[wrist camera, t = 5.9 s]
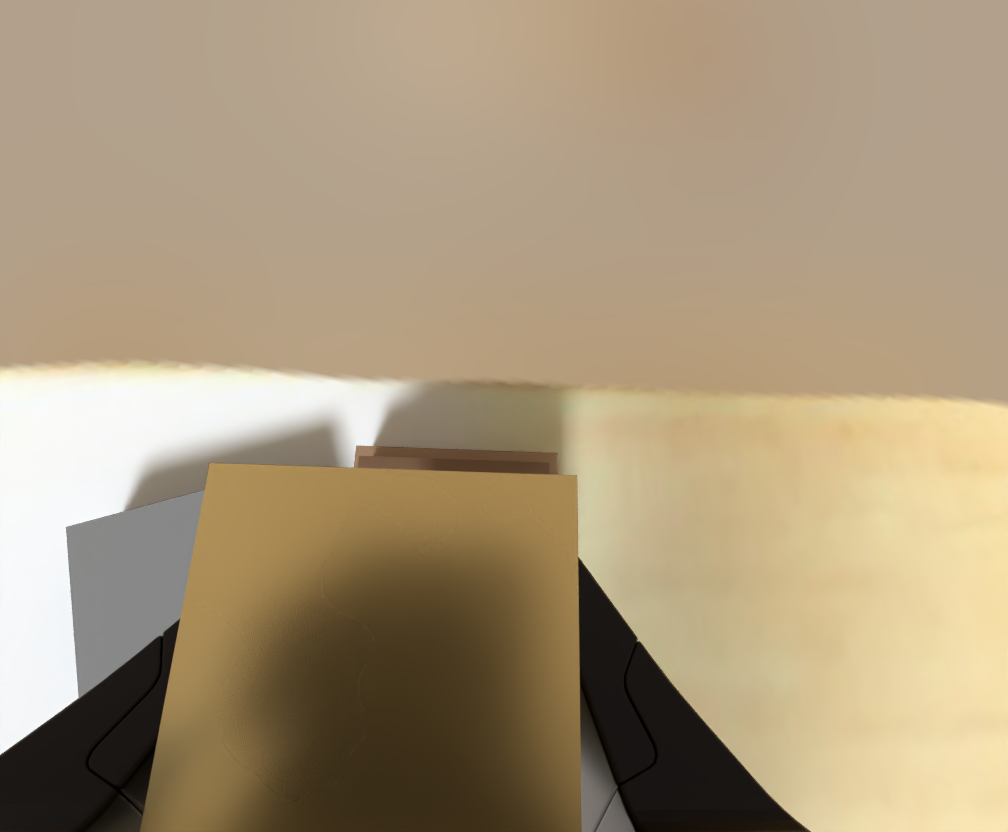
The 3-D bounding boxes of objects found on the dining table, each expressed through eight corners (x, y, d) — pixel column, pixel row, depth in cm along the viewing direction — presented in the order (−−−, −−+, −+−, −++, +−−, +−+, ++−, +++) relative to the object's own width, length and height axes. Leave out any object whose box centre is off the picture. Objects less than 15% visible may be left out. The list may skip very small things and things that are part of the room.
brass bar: (505, 632, 14) (583, 916, 4) (377, 630, 13) (122, 928, 4) (508, 504, 15) (577, 475, 5) (389, 500, 14) (209, 463, 5)
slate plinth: (350, 666, 19) (333, 687, 17) (136, 737, 18) (83, 771, 16) (312, 472, 21) (291, 466, 19) (115, 525, 20) (65, 527, 17)
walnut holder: (547, 653, 20) (568, 692, 15) (349, 651, 19) (313, 690, 15) (548, 460, 22) (566, 446, 18) (369, 453, 21) (342, 437, 17)
